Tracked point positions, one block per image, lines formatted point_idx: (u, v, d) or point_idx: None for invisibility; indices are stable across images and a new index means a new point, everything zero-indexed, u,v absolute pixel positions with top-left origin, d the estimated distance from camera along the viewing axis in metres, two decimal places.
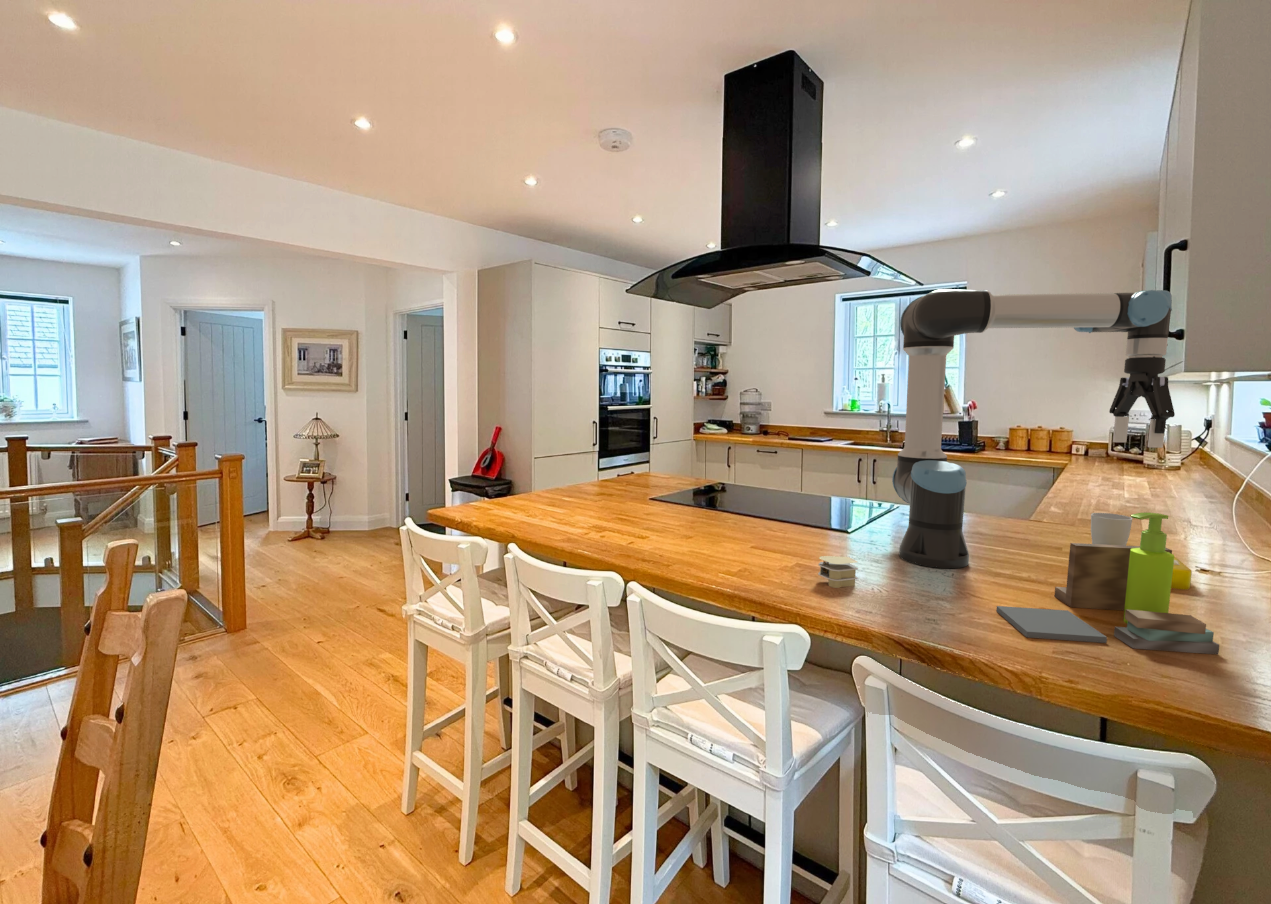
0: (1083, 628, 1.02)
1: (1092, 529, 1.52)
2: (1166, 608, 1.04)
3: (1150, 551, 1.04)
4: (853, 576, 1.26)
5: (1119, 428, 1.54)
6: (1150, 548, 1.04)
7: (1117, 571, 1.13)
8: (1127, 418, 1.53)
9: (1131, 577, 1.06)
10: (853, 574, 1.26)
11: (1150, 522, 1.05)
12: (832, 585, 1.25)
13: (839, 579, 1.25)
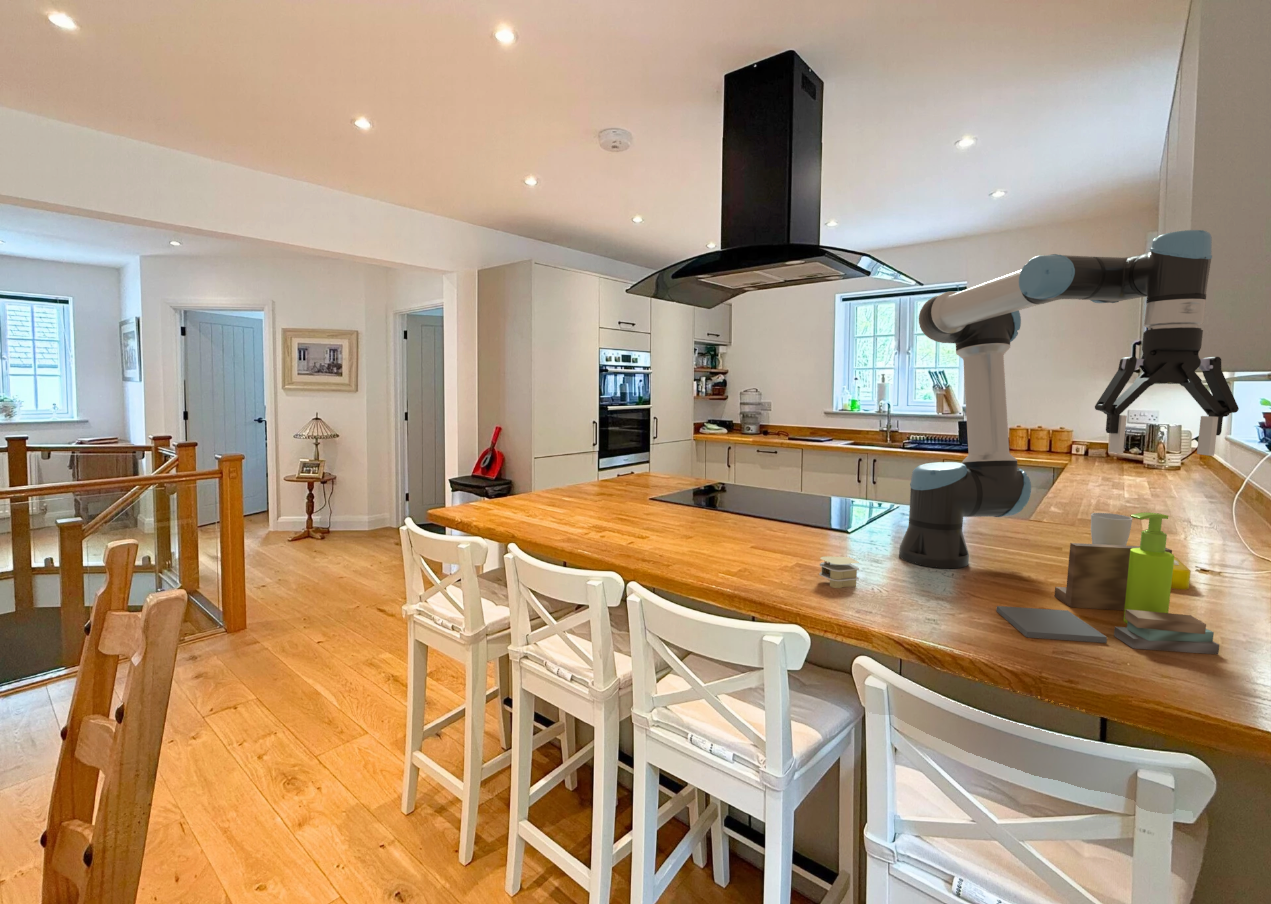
0: (1083, 628, 1.02)
1: (1092, 529, 1.52)
2: (1166, 608, 1.04)
3: (1150, 551, 1.04)
4: (854, 576, 1.26)
5: (1202, 433, 1.03)
6: (1150, 548, 1.04)
7: (1117, 571, 1.13)
8: (1211, 419, 1.01)
9: (1131, 577, 1.06)
10: (854, 574, 1.26)
11: (1150, 522, 1.05)
12: (833, 585, 1.25)
13: (840, 579, 1.25)
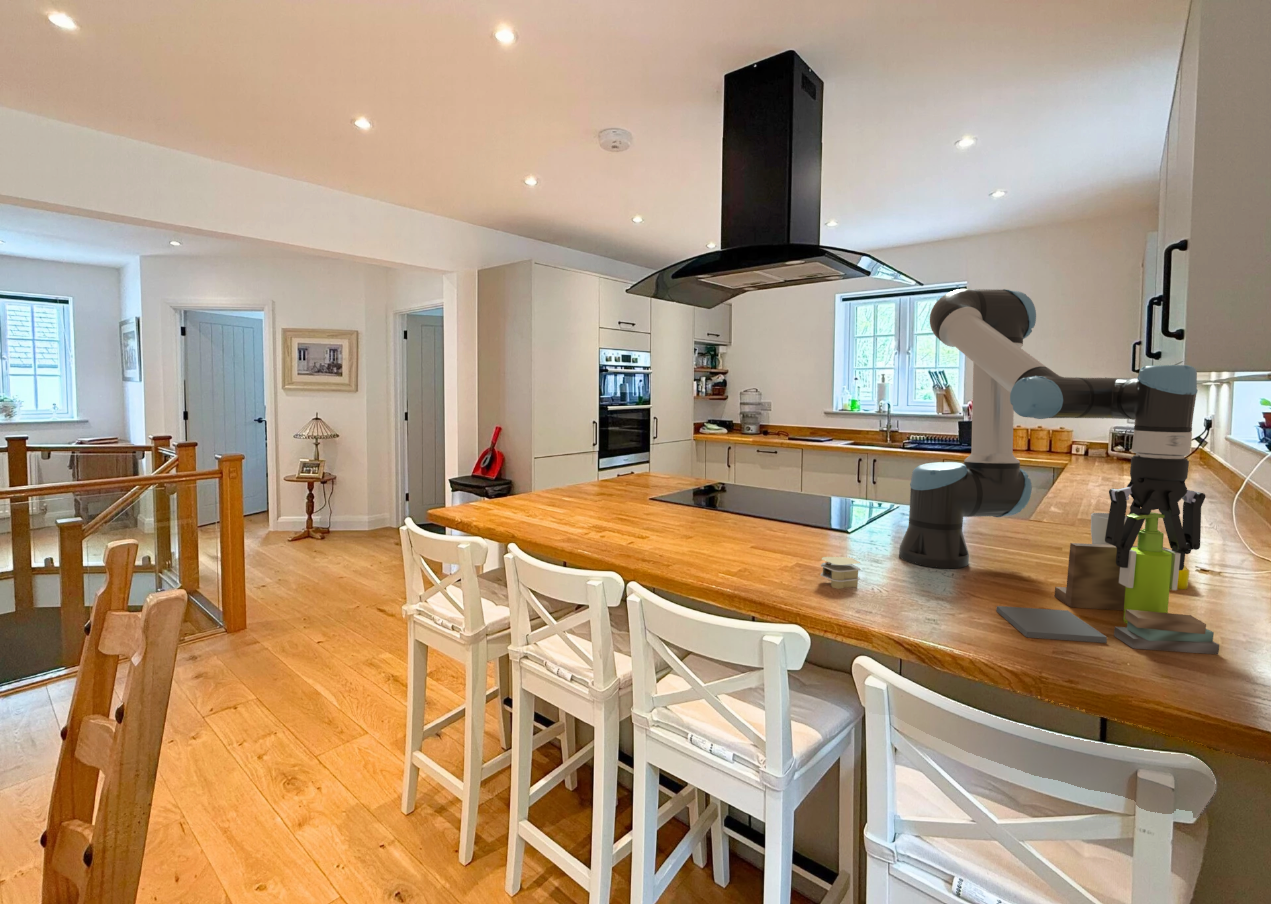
0: (1083, 628, 1.02)
1: (1092, 529, 1.52)
2: (1165, 607, 1.04)
3: (1147, 551, 1.04)
4: (856, 577, 1.26)
5: None
6: (1147, 548, 1.04)
7: (1117, 571, 1.13)
8: (1174, 555, 1.04)
9: None
10: (856, 575, 1.26)
11: (1146, 522, 1.05)
12: (835, 586, 1.25)
13: (842, 580, 1.24)
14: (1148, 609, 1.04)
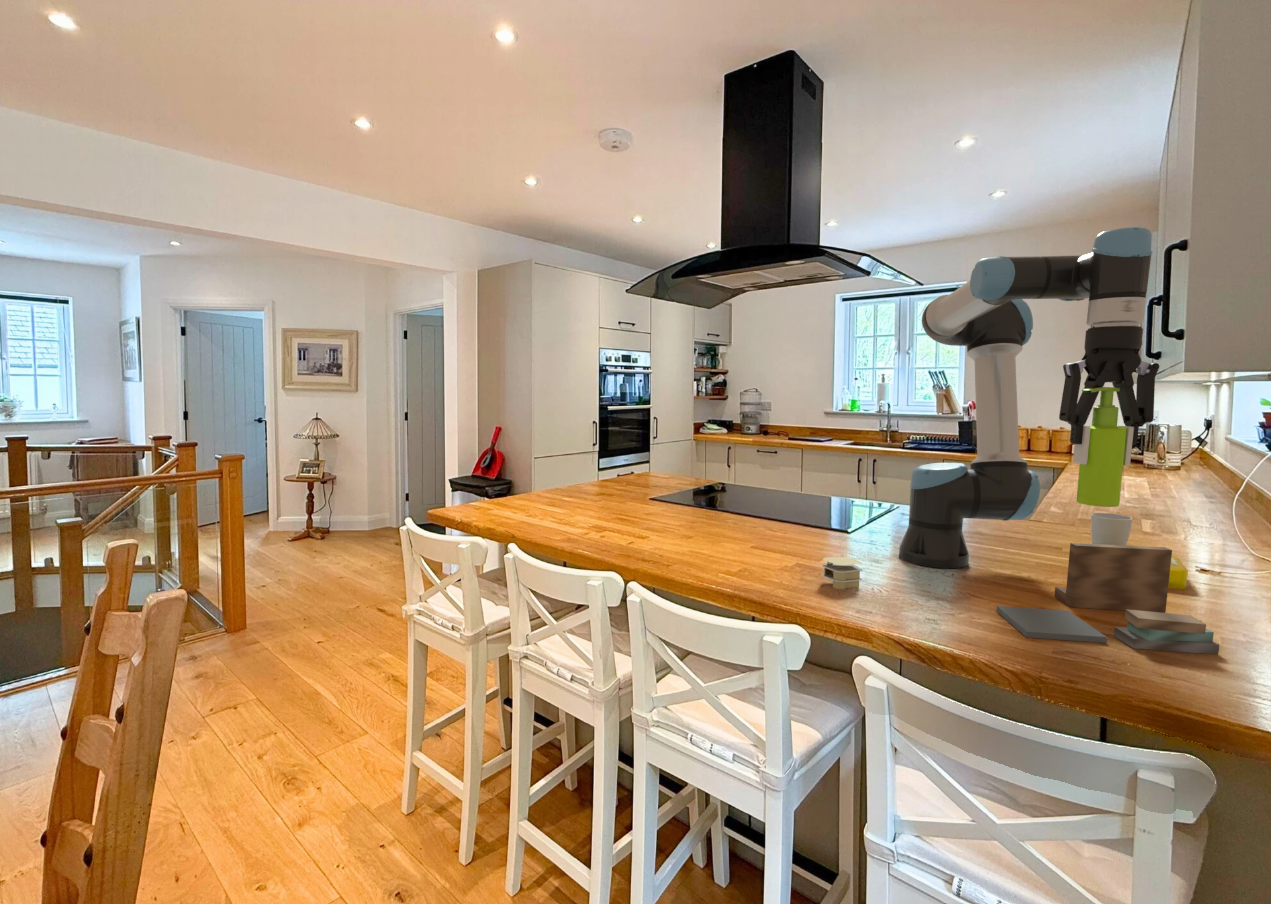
0: (1083, 628, 1.02)
1: (1092, 529, 1.52)
2: (1118, 483, 1.01)
3: (1102, 425, 1.01)
4: (857, 577, 1.25)
5: None
6: (1102, 422, 1.01)
7: (1117, 571, 1.13)
8: (1127, 429, 1.01)
9: None
10: (857, 575, 1.25)
11: (1102, 396, 1.02)
12: (836, 586, 1.25)
13: (843, 580, 1.24)
14: (1101, 485, 1.01)
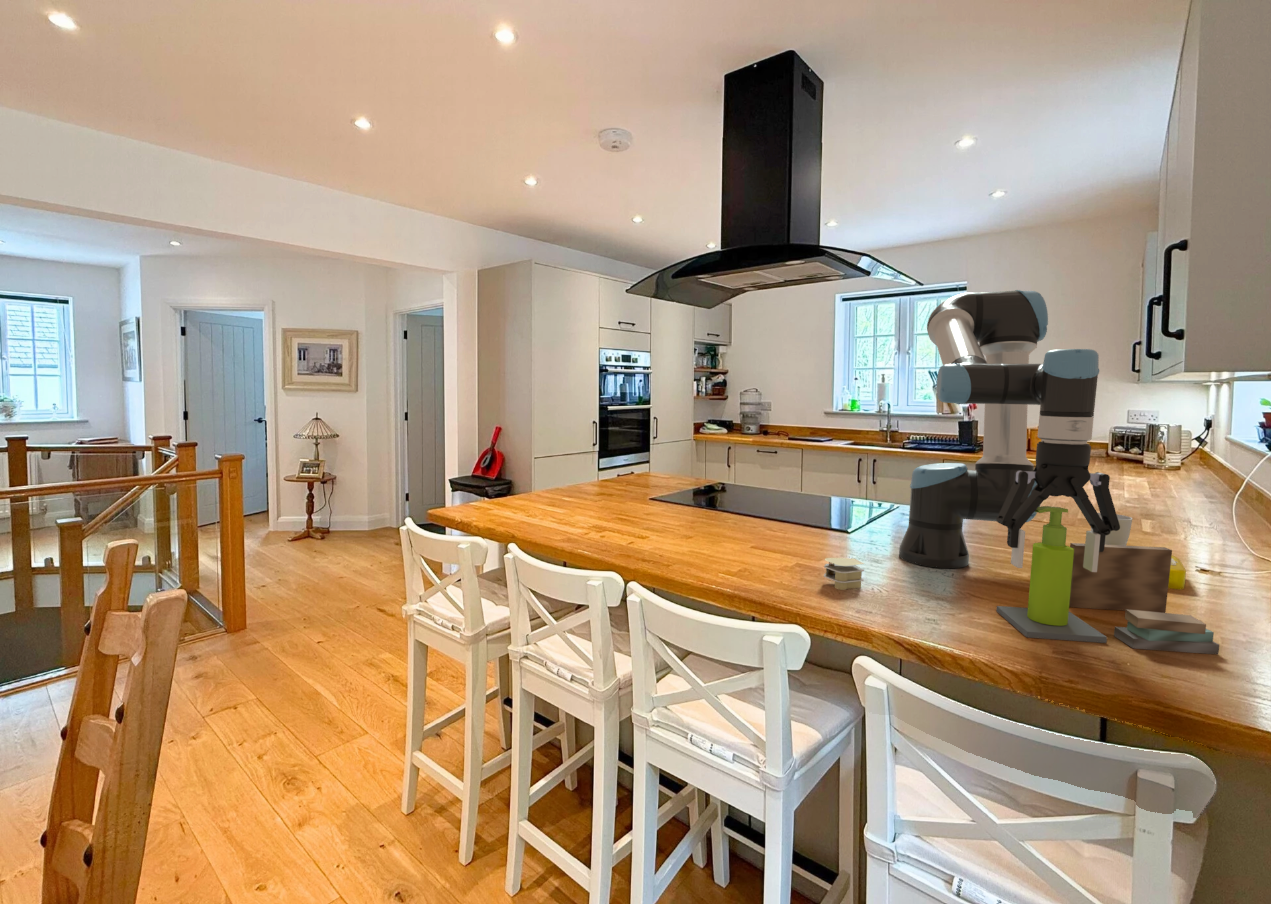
0: (1083, 628, 1.02)
1: (1092, 529, 1.52)
2: (1066, 603, 1.03)
3: (1050, 545, 1.04)
4: (859, 578, 1.25)
5: (1087, 548, 1.04)
6: (1050, 542, 1.04)
7: (1117, 571, 1.13)
8: (1094, 536, 1.02)
9: (1033, 571, 1.05)
10: (859, 576, 1.25)
11: (1051, 516, 1.04)
12: (838, 587, 1.24)
13: (845, 581, 1.24)
14: (1049, 604, 1.03)
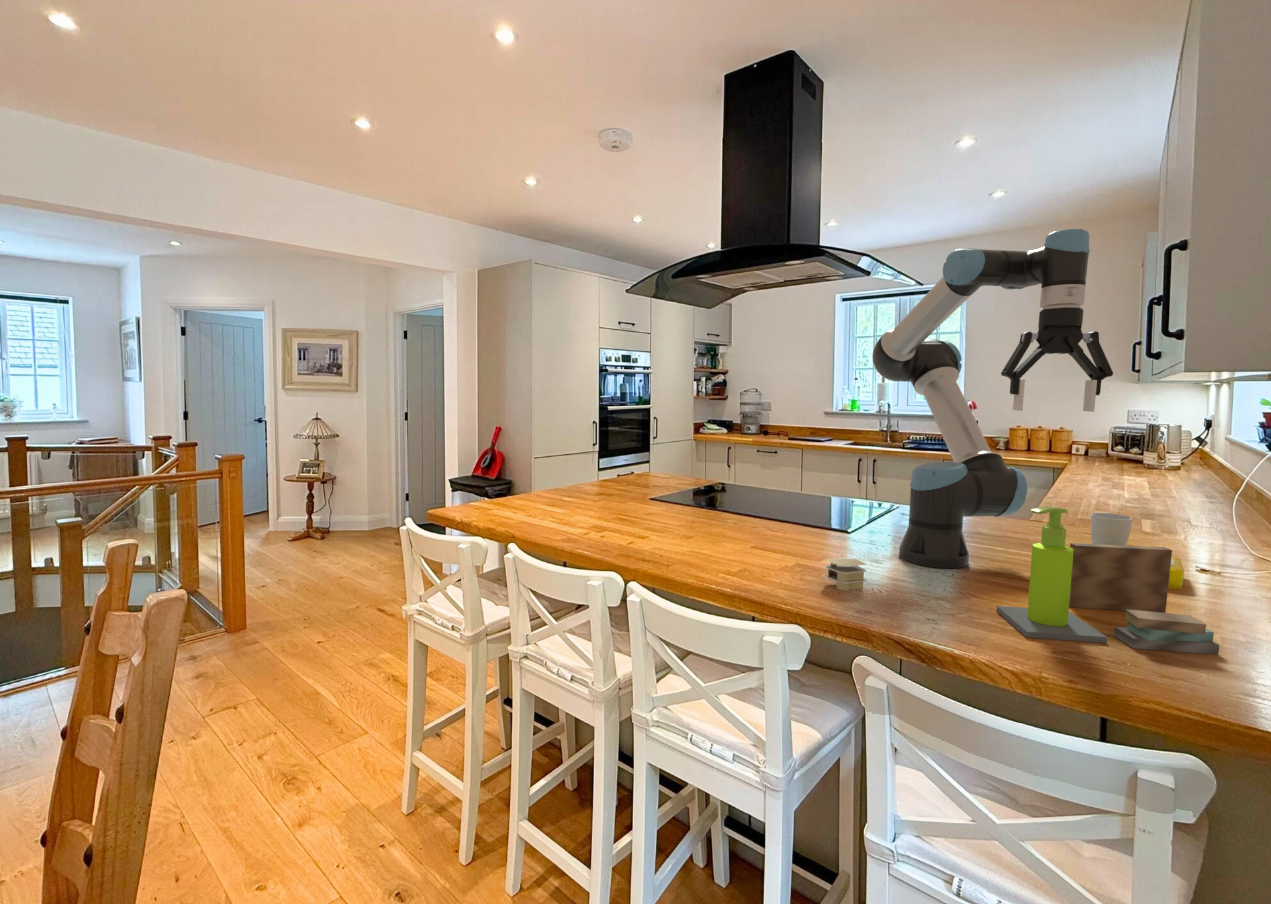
0: (1083, 628, 1.02)
1: (1092, 529, 1.52)
2: (1066, 603, 1.03)
3: (1050, 546, 1.03)
4: (861, 578, 1.25)
5: (1086, 394, 1.27)
6: (1050, 542, 1.03)
7: (1117, 571, 1.13)
8: (1092, 381, 1.25)
9: (1033, 572, 1.05)
10: (861, 576, 1.25)
11: (1050, 516, 1.04)
12: (840, 588, 1.24)
13: (848, 582, 1.23)
14: (1049, 605, 1.03)
